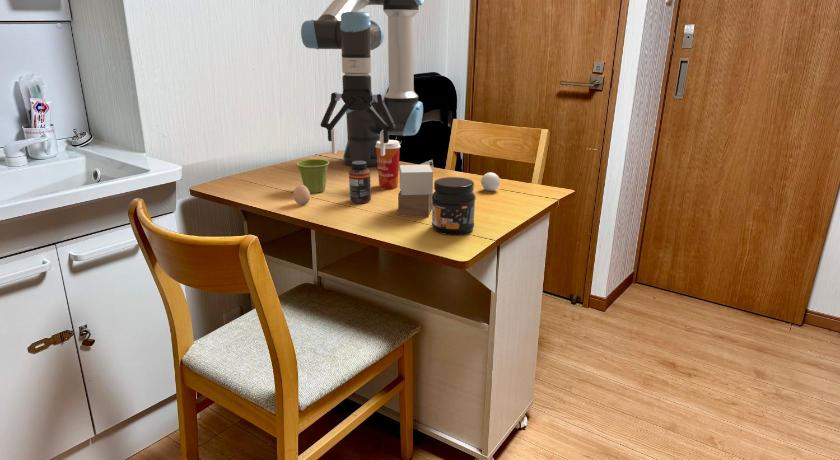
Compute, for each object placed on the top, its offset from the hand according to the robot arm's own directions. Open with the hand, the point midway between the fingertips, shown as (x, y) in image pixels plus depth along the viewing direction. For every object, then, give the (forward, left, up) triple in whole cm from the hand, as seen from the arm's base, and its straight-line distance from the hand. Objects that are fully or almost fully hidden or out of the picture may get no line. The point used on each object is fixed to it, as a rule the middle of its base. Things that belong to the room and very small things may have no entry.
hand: (358, 154), depth 159 cm
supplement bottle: (0, 0, -14) cm, 14 cm away
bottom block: (+7, +17, -14) cm, 23 cm away
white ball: (-16, +36, -14) cm, 42 cm away
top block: (+7, +17, -8) cm, 20 cm away
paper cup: (-16, +5, -14) cm, 22 cm away
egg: (+6, -15, -14) cm, 21 cm away
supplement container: (+19, +28, -14) cm, 36 cm away
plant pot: (-8, -16, -14) cm, 23 cm away
